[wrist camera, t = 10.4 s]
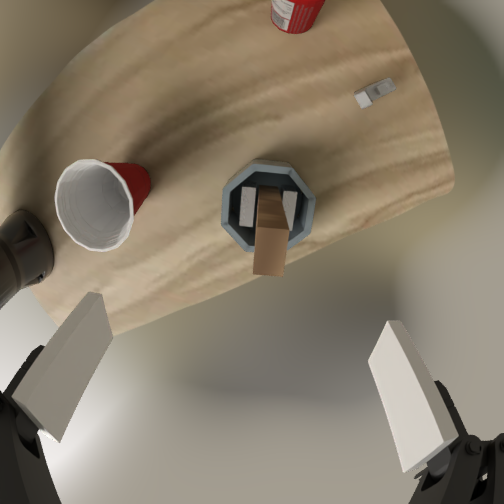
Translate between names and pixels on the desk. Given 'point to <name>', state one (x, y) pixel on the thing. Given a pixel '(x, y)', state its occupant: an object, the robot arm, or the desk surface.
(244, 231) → the grey faceted bowl
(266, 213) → the brown wooden block
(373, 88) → the lighter
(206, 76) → the desk surface
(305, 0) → the soda can
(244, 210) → the clip
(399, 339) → the robot arm
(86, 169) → the plastic cup
